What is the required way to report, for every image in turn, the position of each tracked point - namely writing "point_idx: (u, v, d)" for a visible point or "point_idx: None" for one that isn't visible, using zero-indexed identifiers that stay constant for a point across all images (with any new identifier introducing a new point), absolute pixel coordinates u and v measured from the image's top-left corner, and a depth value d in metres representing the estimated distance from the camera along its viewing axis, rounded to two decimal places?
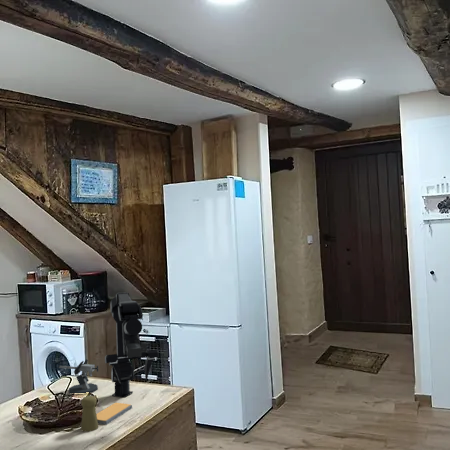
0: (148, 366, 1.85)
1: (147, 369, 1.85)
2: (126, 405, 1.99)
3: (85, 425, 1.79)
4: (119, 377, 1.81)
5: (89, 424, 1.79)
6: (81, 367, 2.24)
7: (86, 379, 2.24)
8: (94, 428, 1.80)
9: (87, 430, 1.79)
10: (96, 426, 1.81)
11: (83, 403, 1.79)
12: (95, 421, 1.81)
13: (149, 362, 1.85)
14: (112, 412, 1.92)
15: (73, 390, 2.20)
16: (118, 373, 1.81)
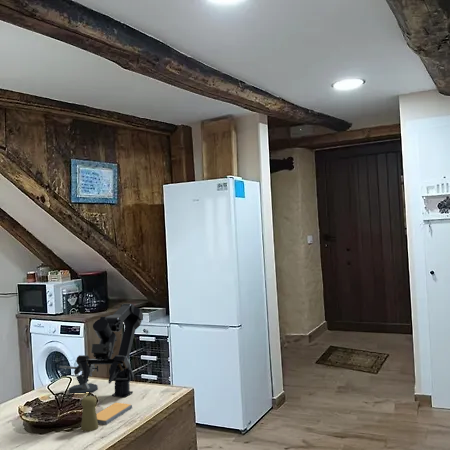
0: (113, 369, 1.91)
1: (111, 372, 1.91)
2: (126, 405, 1.99)
3: (85, 425, 1.79)
4: (84, 376, 1.91)
5: (89, 424, 1.79)
6: None
7: None
8: (94, 428, 1.80)
9: (87, 430, 1.79)
10: (96, 426, 1.81)
11: (83, 403, 1.79)
12: (95, 421, 1.81)
13: (114, 365, 1.91)
14: (112, 412, 1.92)
15: (73, 390, 2.20)
16: (84, 372, 1.92)
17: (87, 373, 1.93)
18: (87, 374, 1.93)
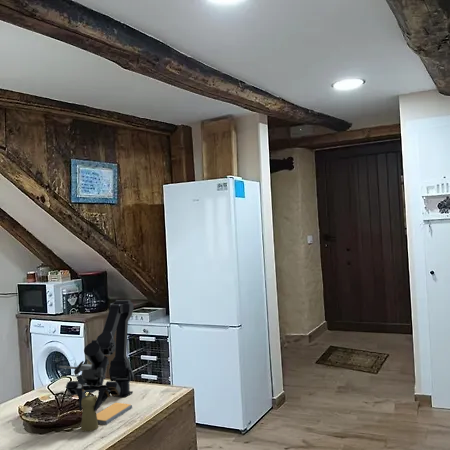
0: (99, 396, 1.82)
1: (97, 399, 1.81)
2: (126, 405, 1.99)
3: (85, 424, 1.79)
4: (80, 404, 1.81)
5: (89, 424, 1.79)
6: (81, 367, 2.24)
7: None
8: (94, 428, 1.80)
9: (87, 430, 1.79)
10: (96, 426, 1.81)
11: (83, 403, 1.79)
12: (95, 421, 1.81)
13: (100, 392, 1.82)
14: (112, 412, 1.92)
15: None
16: (80, 400, 1.82)
17: None
18: None
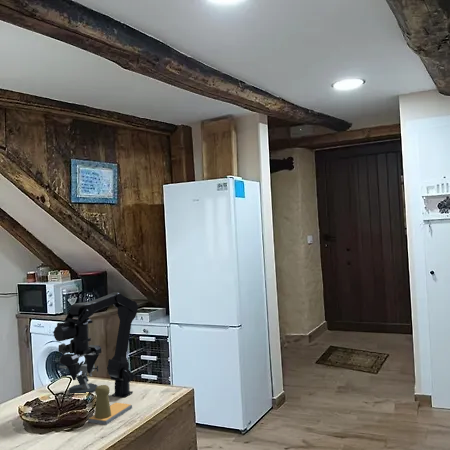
0: None
1: None
2: (126, 405, 1.99)
3: (99, 412, 1.86)
4: None
5: (102, 412, 1.86)
6: (81, 367, 2.24)
7: (86, 379, 2.24)
8: (107, 415, 1.87)
9: (101, 417, 1.86)
10: (109, 414, 1.88)
11: (97, 391, 1.87)
12: (108, 409, 1.88)
13: None
14: (112, 412, 1.92)
15: (73, 390, 2.20)
16: None
17: (89, 363, 2.04)
18: (89, 364, 2.04)
